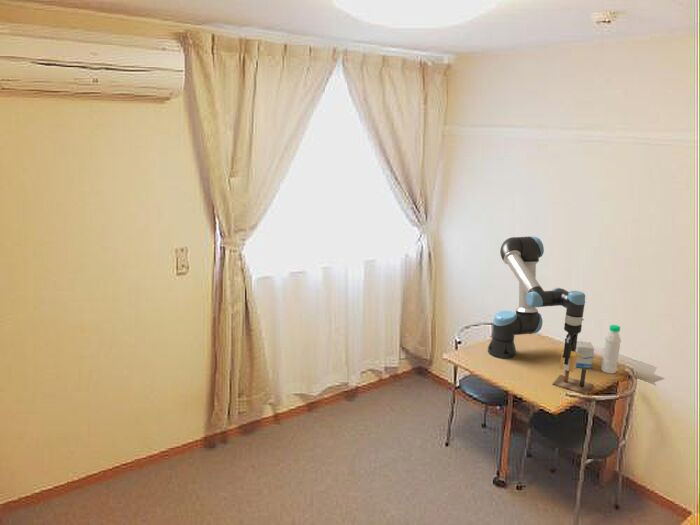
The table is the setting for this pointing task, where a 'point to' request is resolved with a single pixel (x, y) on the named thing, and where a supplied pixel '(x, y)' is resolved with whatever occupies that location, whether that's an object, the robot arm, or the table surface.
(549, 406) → the table surface
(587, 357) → the ink box
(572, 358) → the orange rectangular block
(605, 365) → the water bottle
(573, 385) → the pigtail board
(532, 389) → the table surface
